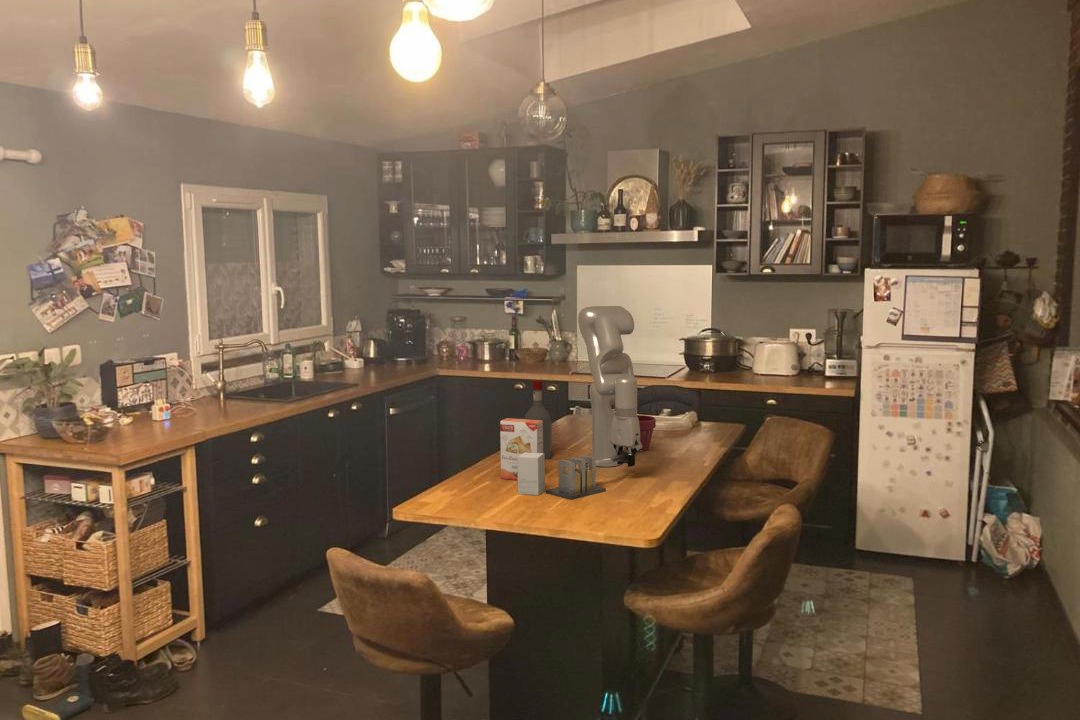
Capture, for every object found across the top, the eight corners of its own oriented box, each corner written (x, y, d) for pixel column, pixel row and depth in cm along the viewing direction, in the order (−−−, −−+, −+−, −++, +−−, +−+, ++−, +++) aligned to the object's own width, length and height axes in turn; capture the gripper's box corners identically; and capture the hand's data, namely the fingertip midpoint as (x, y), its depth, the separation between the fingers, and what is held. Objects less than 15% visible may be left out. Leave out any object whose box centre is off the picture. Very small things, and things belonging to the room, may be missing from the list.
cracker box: (500, 479, 311) (499, 420, 309) (507, 475, 317) (506, 417, 315) (537, 482, 306) (536, 422, 304) (543, 478, 312) (543, 419, 309)
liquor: (541, 454, 351) (540, 378, 348) (554, 458, 344) (554, 381, 340) (521, 457, 346) (521, 380, 343) (534, 461, 339) (533, 383, 335)
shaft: (624, 460, 311) (624, 449, 311) (632, 462, 308) (632, 451, 308) (583, 470, 297) (583, 458, 297) (591, 472, 294) (591, 460, 294)
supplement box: (545, 490, 295) (545, 453, 294) (538, 496, 288) (538, 457, 287) (524, 488, 298) (524, 451, 296) (517, 494, 291) (516, 456, 289)
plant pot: (662, 449, 358) (663, 418, 357) (636, 454, 350) (636, 421, 349) (639, 443, 370) (639, 413, 369) (613, 448, 362) (613, 416, 361)
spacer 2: (578, 485, 298) (578, 467, 297) (591, 488, 293) (591, 470, 293) (573, 486, 296) (573, 468, 296) (586, 489, 292) (586, 471, 291)
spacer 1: (567, 487, 294) (567, 470, 294) (580, 491, 290) (580, 473, 289) (562, 489, 293) (562, 471, 292) (575, 492, 288) (575, 474, 288)
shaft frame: (579, 484, 302) (579, 452, 301) (605, 491, 294) (605, 458, 293) (545, 493, 292) (545, 460, 291) (571, 500, 283) (571, 465, 282)
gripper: (600, 411, 310) (601, 462, 312) (637, 416, 298) (637, 470, 300) (615, 408, 316) (615, 459, 317) (651, 414, 303) (651, 467, 305)
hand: (626, 464), depth 309 cm, fingers closed on shaft, 4 cm apart
